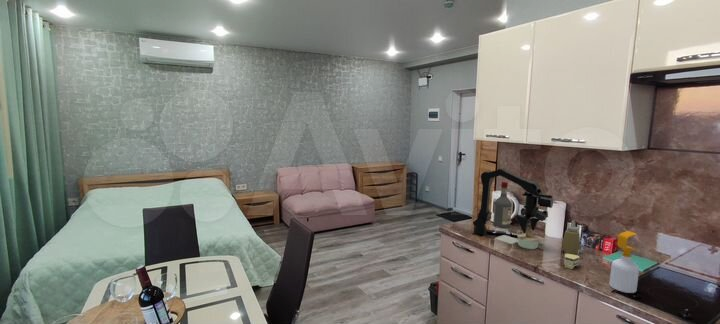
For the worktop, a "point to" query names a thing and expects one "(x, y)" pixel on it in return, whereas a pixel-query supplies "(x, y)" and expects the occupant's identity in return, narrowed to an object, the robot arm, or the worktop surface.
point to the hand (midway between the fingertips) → (528, 231)
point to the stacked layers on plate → (571, 261)
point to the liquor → (502, 209)
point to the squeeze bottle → (571, 239)
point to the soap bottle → (624, 267)
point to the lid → (528, 236)
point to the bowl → (527, 244)
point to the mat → (507, 239)
